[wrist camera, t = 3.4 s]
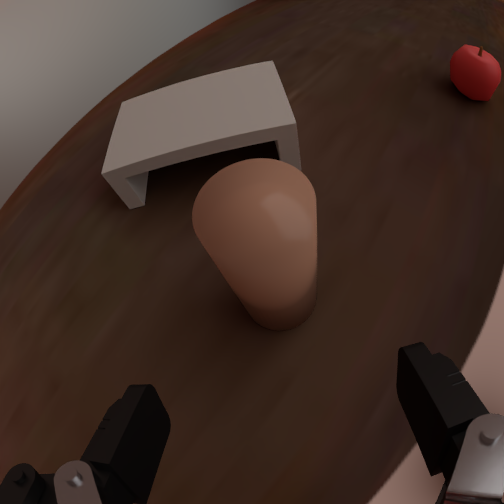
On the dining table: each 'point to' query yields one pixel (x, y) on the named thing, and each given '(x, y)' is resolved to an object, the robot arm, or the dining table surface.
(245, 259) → the tan rounded-top cylinder
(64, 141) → the dining table surface
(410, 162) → the dining table surface
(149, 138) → the white channel block
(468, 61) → the apple
